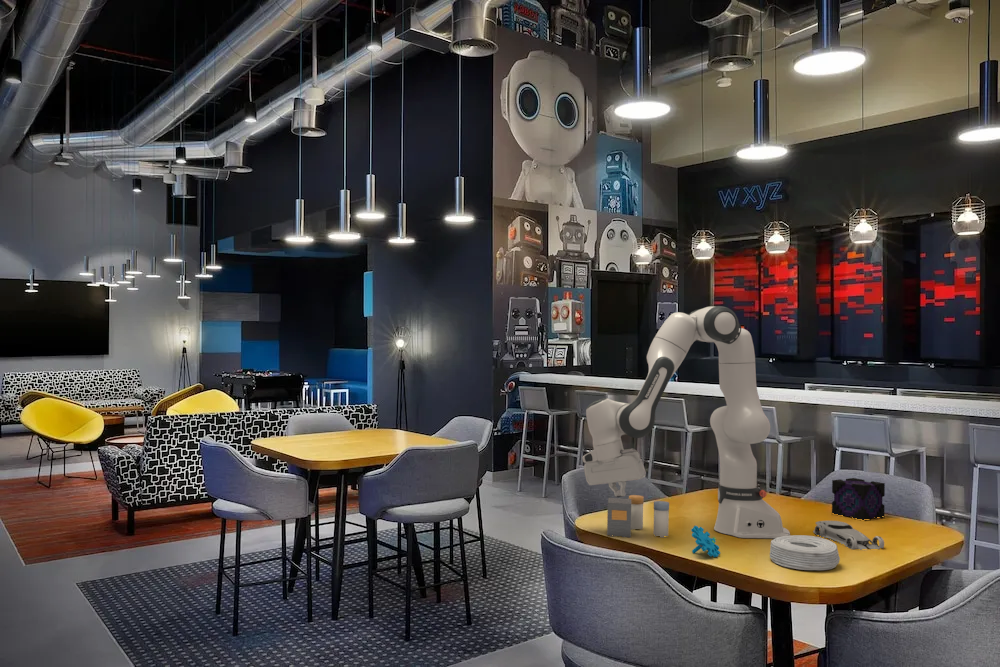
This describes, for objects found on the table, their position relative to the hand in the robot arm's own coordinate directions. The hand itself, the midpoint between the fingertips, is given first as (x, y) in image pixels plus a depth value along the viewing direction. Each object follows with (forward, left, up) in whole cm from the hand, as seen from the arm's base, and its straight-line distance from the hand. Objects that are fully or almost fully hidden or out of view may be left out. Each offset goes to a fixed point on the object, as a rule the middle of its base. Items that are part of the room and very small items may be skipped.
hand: (620, 496), depth 236 cm
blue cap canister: (-12, -2, -11) cm, 17 cm away
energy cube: (-81, -50, -12) cm, 96 cm away
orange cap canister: (-5, -10, -12) cm, 16 cm away
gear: (-24, +18, -12) cm, 32 cm away
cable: (-49, +20, -12) cm, 55 cm away
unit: (0, -1, -11) cm, 12 cm away
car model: (-67, -11, -12) cm, 69 cm away
